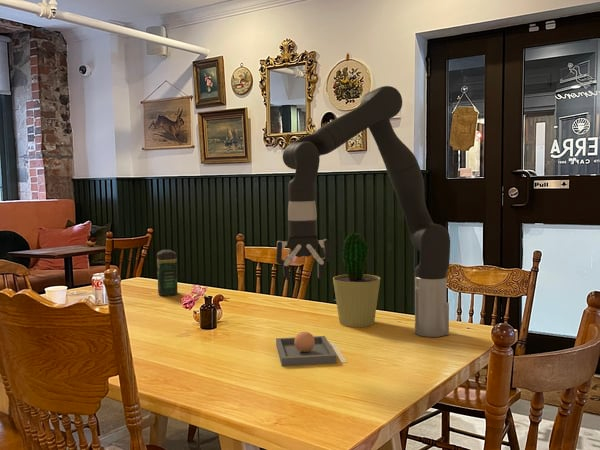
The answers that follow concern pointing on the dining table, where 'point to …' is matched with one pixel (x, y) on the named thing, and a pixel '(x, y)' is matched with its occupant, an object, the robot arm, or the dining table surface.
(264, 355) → the dining table surface
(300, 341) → the ball
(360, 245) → the potted cactus
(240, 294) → the dining table surface
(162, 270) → the coffee jar
